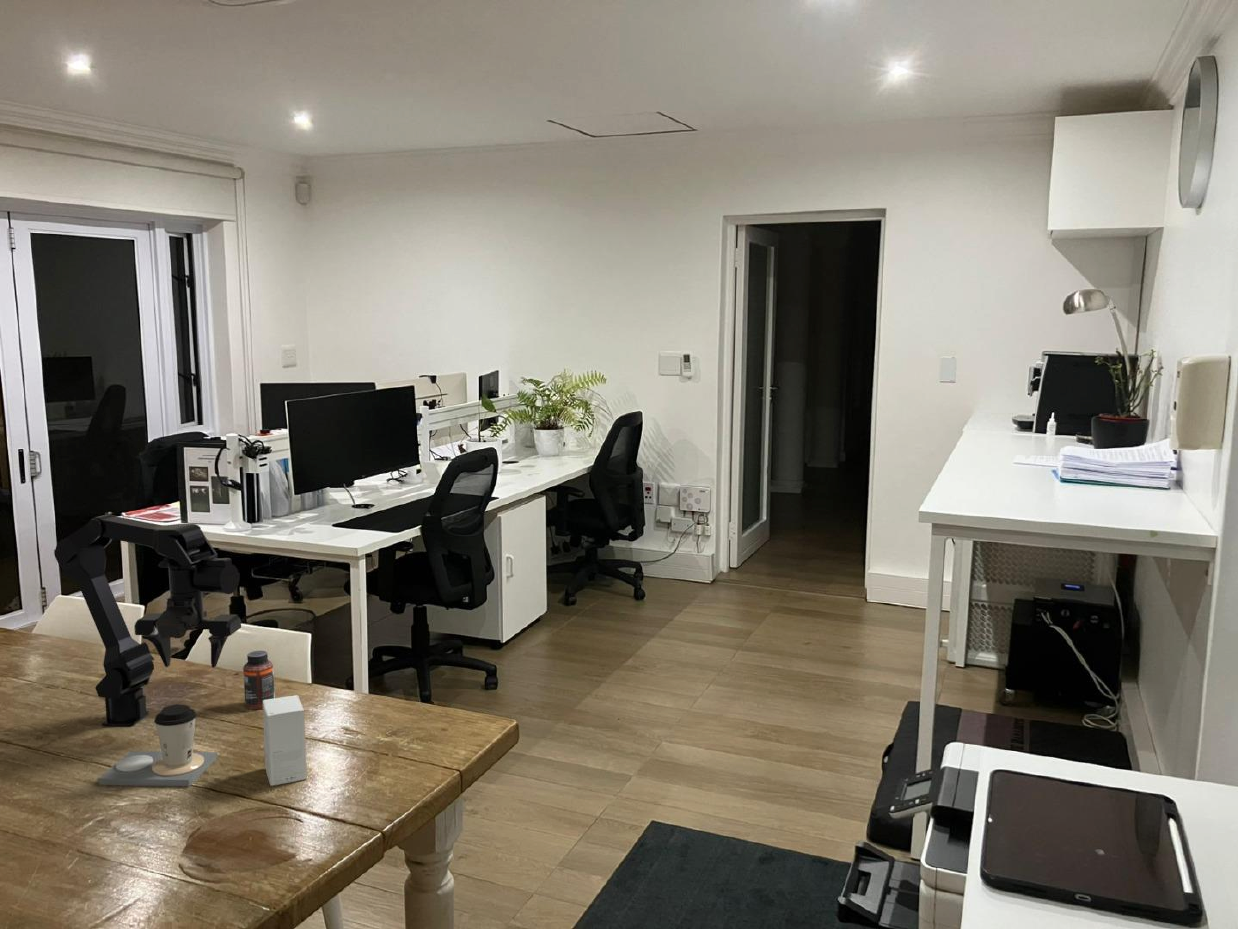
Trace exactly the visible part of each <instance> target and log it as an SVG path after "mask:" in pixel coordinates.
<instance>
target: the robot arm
mask: <svg viewBox="0 0 1238 929" xmlns="http://www.w3.org/2000/svg"><path fill="white" fill-rule="evenodd" d="M113 540H115V541H118V542H119V541H121V542H125V543H130V544H134V545H140V546H144V547H149V548H152V549H153V550H154V551H155V552H156V553H157V554H158V555H161V556H164V557H165V558H164V559H163V560H162V561H160V562H159V563H158V567H159V568H166V569H168V578H169V580H168V581H169V594H170V595H169V596H170V597H168V598H166V606H165V610H164V611H163V612H162V613H155V612H153V613H152V612H151V613H148V614H147V613H146V614H145V615H144V616H142V617H141V618H139V619H137V620H136V622H135V623H134V628H133V629H134V635H135V636H141V638H142V639H143V640H147V641H149V642H150V643H152V644H153V646H154V647H155V649H156V651H157V652H158V655H159V657H160V658H161V661H162V662H163V665H164V666H165V667H166V668H168V667H170V666H171V659H172V656H171V655H172V652H171V645H172V644H171V638H174V639H181V638H182V639H183V637H185V636H186V633H187V632H188V631H195V630H208V633H209V634H210V636H209V637H207V639H208V642H210V664H211V668H212V669H213V668H214V669H215V667H216V666H217V664H218V662H219V659H220V656H221V654H222V651H223V648H224V645H225V643H226V641H227V640H228V638H229V637H230V636H232V635H233V634H235V633H236V632H237V631H238V630H239V629H241V628H242V619H241V618H240V616H239V615H238V614H226V613H225V614H222V613H221V614H220V613H219V615H217V616H216V617H214V618H213V619H205V618H206V617H208V616H207V615H208V614H207V610H204V597H206V593H210V594H222V595H232V594H233V593H235V592H236V590H237V588H238V587H239V584H240V581H241V580H240V578H241V576H240V572H239V569H238V567H237V566H236V565H234V564H233V563H232V559H231V558H230V557H223V558H221V557H220V558H218V553H217V552H216V550H215V547H213V545H211V542H210V541H209V539H207V537H206V535H205V533H204V532H203V530H202V529H201V526H199V525H198V524H195V523H176V524H175V523H173V524H157V523H152V522H147V521H143V520H142V521H141V520H137V519H130V518H127V517H120V516H117V515H115V514H111V513H108V514H104V515H99V516H95V517H93V518H91V519H90V520H89V521H88V522H87V523H86V524H85V525H84V526H82V527H80V528H79V529H77V530H76V531H74V532H73V533H71V534H70V535H68V536H67V537H66V538H64V539H60V541H58V542H57V543H56V546H55V549H54V551H53V554H54V557H55V560H56V562H57V563H58V565H59V567H60V569H61V570H62V572H63V573H64V574H65V575H66V576H68V577H69V578H71V579H72V580H73V581H75V582H76V583H77V585H78V587H79V589H80V592H81V594H82V596H83V599H84V601H85V604H86V606H87V608H88V610H89V612H90V615H91V617H92V620H93V622H94V625H95V627H96V629H97V632H98V634H99V636H100V638H101V641H102V643H103V645H104V648H105V650H104V658H103V665H102V666H103V669H104V672H105V673H104V674H105V676H103V678H102V679H101V680H100V681H99V682H98V683H97V684H96V685H95V687H94V688H95V691H96V693H97V696H98V697H99V698H104V703H105V704H104V707H105V716H106V717H105V720H103V721H102V722H101V725H102V726H126V727H129V726H130V727H132V726H134V725H136V724H138V723H139V722H140V721H141V720H142V719H144V718H145V717H146V716H147V715H149V714H150V712H149V710H147V700H146V698H147V697H146V695H144V690H143V688H144V686H147V685H149V683H150V679H151V676H152V674H153V671H154V670H155V665H154V661H155V658H154V656H153V655H152V654H151V651H150V649H149V644H147V642H146V641H143V642H138V641H136V640H135V639H133V638H132V635H131V634H130V631H129V628H128V626H127V624H126V622H125V619H124V617H123V614H122V612H121V609H120V607H119V605H118V603H117V600H116V598H115V595H114V594H113V590H112V589H111V585H110V584H109V582H108V579H107V576H106V574H105V570H106V563H107V554H106V551H105V549H106V548H107V547H108V545H110V544H111V543H112V541H113ZM198 552H199V553H198ZM192 554H193V555H192Z"/></svg>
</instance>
